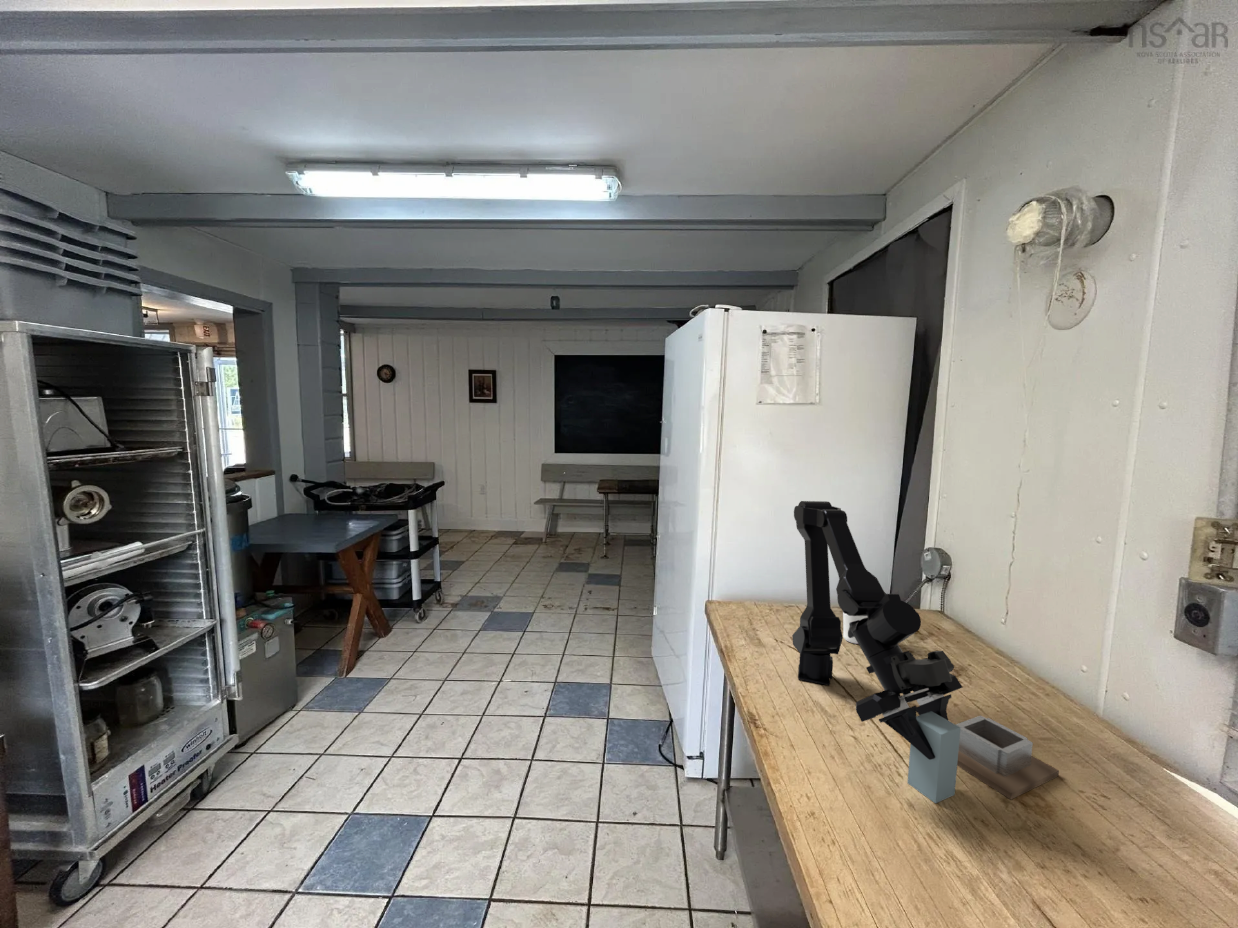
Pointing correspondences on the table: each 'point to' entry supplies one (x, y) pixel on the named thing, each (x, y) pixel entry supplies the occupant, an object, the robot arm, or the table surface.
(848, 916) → the table surface
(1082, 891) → the table surface
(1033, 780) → the docking socket
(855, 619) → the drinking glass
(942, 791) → the light blue pillar
